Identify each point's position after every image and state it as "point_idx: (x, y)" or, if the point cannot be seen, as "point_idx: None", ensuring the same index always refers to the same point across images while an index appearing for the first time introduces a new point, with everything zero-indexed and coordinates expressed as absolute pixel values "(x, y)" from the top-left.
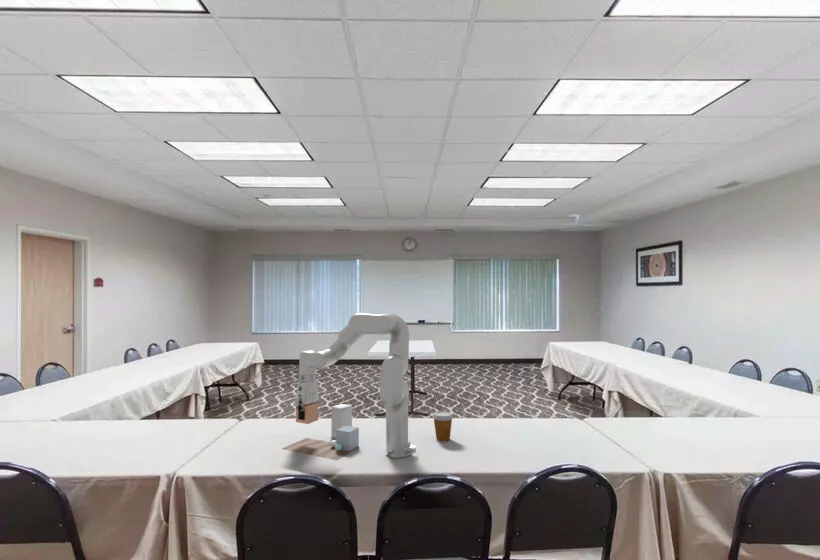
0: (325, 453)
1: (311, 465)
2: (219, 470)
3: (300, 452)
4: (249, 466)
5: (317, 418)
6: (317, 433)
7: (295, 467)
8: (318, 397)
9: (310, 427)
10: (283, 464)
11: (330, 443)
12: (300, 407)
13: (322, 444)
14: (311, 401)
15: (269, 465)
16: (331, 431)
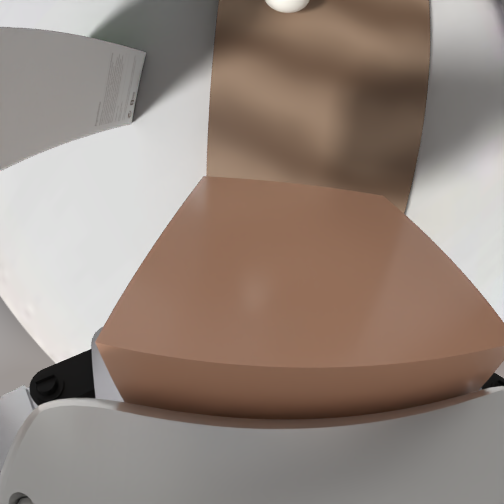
0: (389, 9)
1: (468, 50)
2: (498, 308)
3: (418, 142)
4: (491, 263)
5: (212, 182)
6: (99, 253)
7: (495, 106)
8: (12, 456)
9: (77, 315)
10: (484, 165)
11: (301, 7)
12: (486, 386)
13: (268, 83)
14: (402, 459)
15: (491, 210)
16: (108, 127)
